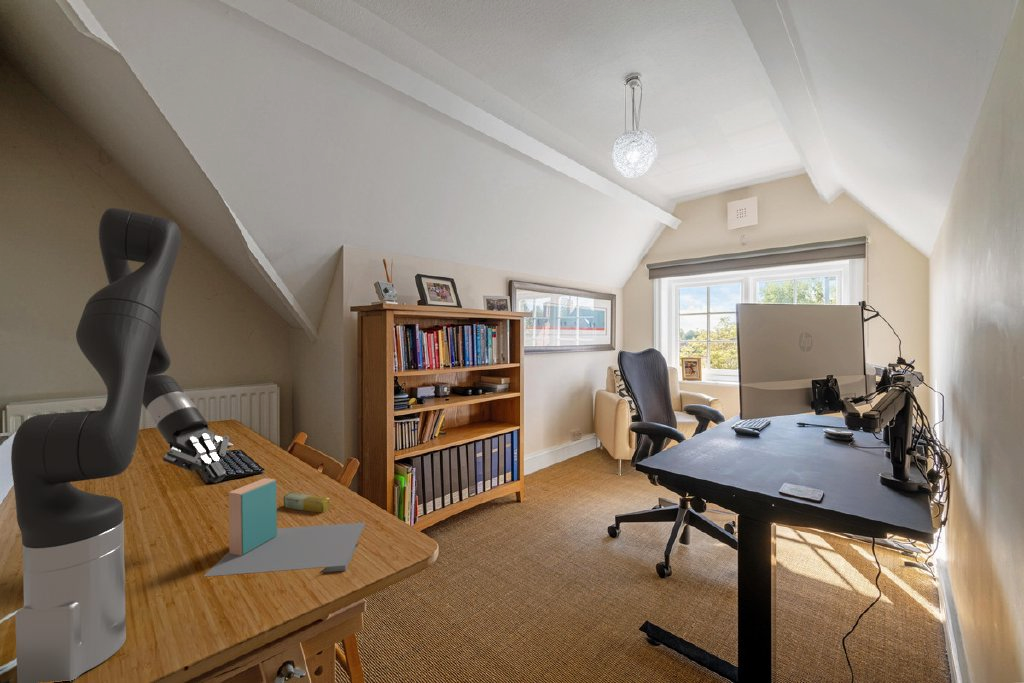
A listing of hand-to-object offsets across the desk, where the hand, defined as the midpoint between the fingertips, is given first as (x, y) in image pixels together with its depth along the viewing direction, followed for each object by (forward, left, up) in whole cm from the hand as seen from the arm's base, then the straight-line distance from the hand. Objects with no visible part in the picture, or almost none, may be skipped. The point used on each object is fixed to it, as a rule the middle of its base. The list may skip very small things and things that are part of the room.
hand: (220, 479), depth 84 cm
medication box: (+13, -12, -14) cm, 23 cm away
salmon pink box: (-4, -8, -12) cm, 15 cm away
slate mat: (-6, -17, -13) cm, 22 cm away
